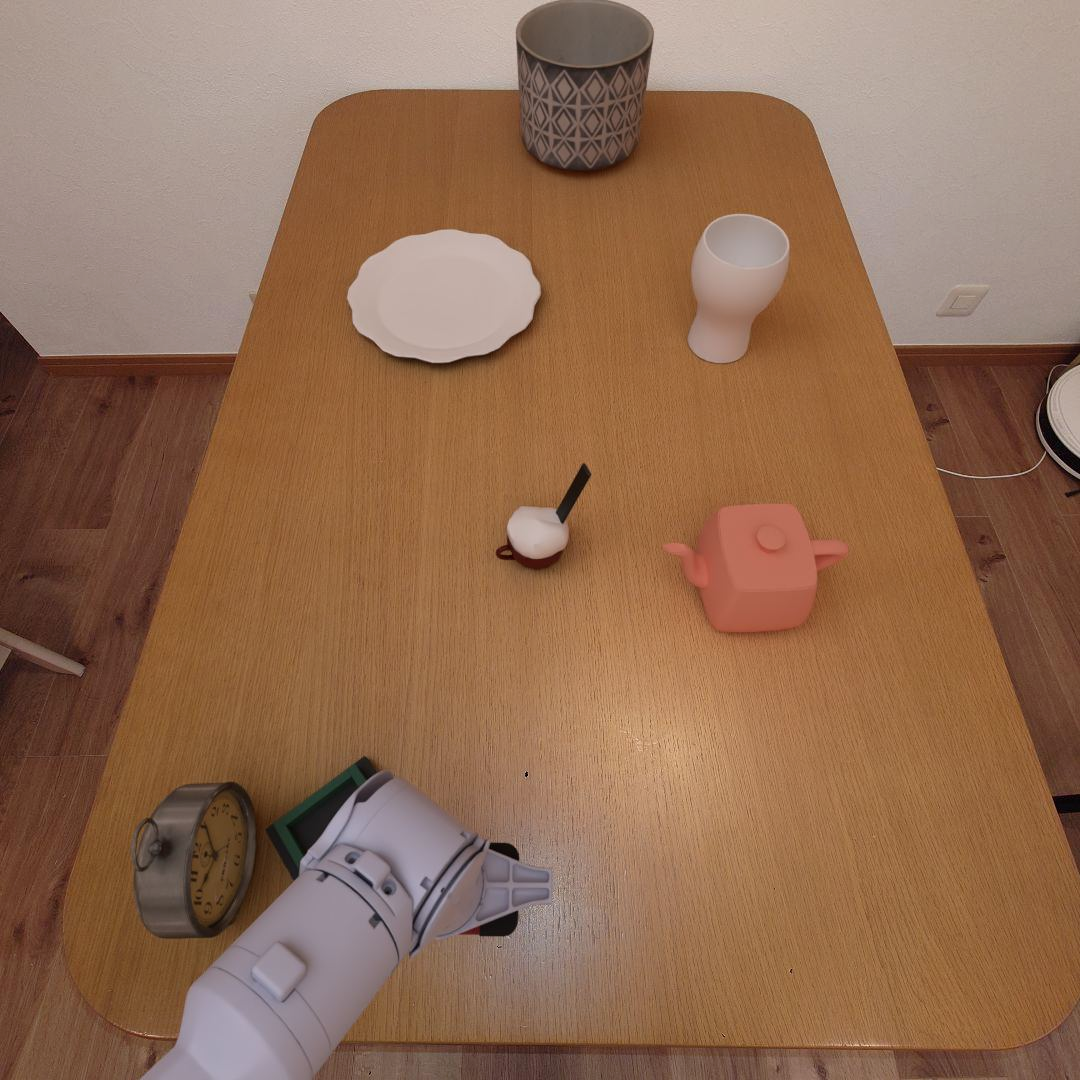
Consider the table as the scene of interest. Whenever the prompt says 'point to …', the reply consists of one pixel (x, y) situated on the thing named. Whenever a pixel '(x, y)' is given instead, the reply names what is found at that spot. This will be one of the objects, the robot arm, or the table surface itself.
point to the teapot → (757, 567)
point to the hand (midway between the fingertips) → (453, 895)
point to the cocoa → (542, 529)
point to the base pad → (315, 815)
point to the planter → (582, 82)
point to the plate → (444, 296)
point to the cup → (734, 282)
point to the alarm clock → (194, 860)
